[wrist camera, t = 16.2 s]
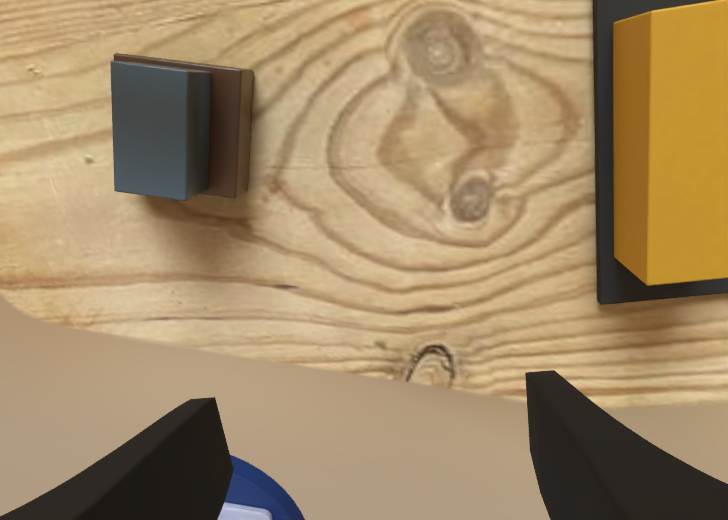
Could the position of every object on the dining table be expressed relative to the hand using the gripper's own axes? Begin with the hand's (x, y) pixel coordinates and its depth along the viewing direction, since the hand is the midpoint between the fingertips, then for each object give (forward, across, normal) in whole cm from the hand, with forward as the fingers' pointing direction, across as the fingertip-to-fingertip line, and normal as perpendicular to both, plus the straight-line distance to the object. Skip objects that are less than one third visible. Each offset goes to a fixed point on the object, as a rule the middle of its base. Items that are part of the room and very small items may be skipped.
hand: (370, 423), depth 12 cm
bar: (+9, -10, -4) cm, 14 cm away
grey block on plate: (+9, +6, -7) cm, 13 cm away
